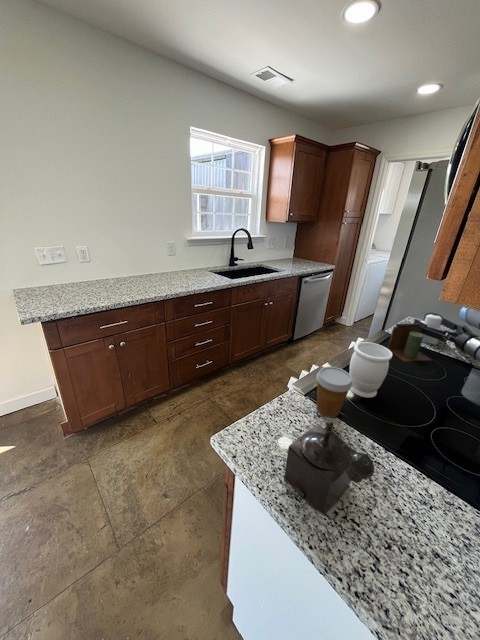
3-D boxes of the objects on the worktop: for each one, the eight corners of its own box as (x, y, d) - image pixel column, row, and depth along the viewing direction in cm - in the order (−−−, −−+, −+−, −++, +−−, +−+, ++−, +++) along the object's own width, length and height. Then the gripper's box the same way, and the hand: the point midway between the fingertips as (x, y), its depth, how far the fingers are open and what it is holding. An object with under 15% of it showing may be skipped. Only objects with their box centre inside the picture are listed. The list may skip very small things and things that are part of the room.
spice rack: (412, 349, 112) (421, 322, 107) (431, 362, 102) (442, 334, 97) (386, 350, 110) (394, 323, 105) (402, 363, 101) (412, 335, 96)
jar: (384, 389, 86) (396, 349, 80) (374, 405, 79) (387, 363, 73) (351, 376, 93) (361, 338, 87) (339, 389, 85) (348, 349, 79)
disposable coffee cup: (307, 414, 75) (313, 379, 70) (314, 394, 83) (320, 362, 78) (343, 426, 71) (352, 390, 66) (346, 404, 79) (355, 371, 74)
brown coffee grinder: (280, 478, 57) (289, 414, 50) (311, 451, 64) (323, 391, 56) (345, 544, 46) (369, 475, 39) (375, 503, 53) (400, 438, 46)
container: (415, 335, 124) (423, 309, 118) (434, 340, 120) (444, 313, 115) (415, 342, 117) (424, 315, 112) (436, 347, 114) (446, 319, 109)
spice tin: (413, 352, 107) (420, 332, 103) (418, 358, 103) (426, 337, 99) (401, 350, 108) (407, 330, 104) (405, 356, 103) (412, 336, 100)
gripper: (438, 355, 98) (400, 330, 117) (498, 352, 101) (451, 328, 120) (445, 337, 95) (405, 314, 114) (506, 335, 97) (457, 313, 117)
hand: (428, 321), depth 117 cm, fingers open, 13 cm apart
